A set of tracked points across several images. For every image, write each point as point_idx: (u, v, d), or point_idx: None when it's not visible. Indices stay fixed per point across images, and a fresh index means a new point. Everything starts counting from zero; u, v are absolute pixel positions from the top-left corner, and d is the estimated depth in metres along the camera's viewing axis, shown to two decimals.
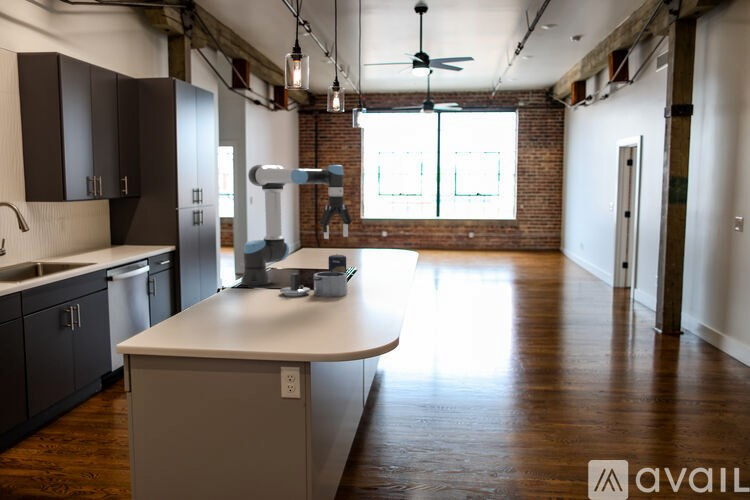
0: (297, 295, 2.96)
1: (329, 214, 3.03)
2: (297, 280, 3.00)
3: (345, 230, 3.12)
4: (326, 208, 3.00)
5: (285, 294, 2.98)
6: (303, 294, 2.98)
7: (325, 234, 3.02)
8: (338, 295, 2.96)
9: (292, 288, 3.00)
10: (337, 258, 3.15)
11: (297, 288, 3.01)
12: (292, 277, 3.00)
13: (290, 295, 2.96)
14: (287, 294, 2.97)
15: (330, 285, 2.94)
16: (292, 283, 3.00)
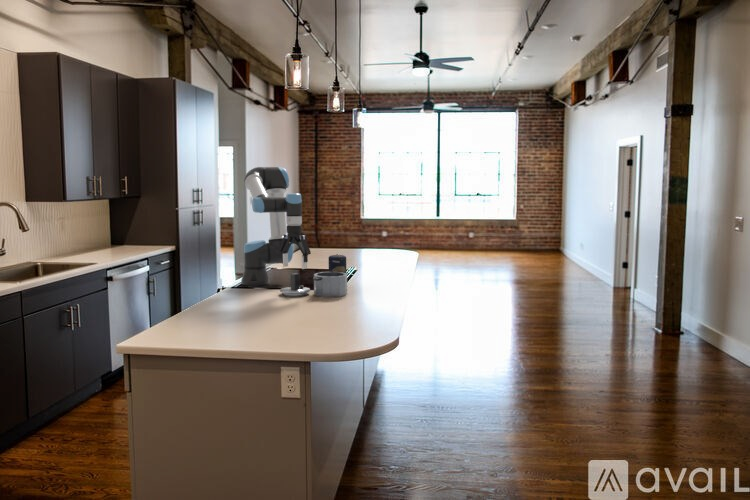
0: (297, 295, 2.96)
1: None
2: (297, 280, 3.00)
3: None
4: None
5: (285, 294, 2.98)
6: (303, 294, 2.98)
7: None
8: (338, 295, 2.96)
9: (292, 288, 3.00)
10: (337, 258, 3.15)
11: (297, 288, 3.01)
12: (292, 277, 3.00)
13: (290, 295, 2.96)
14: (287, 294, 2.97)
15: (330, 285, 2.94)
16: (292, 283, 3.00)
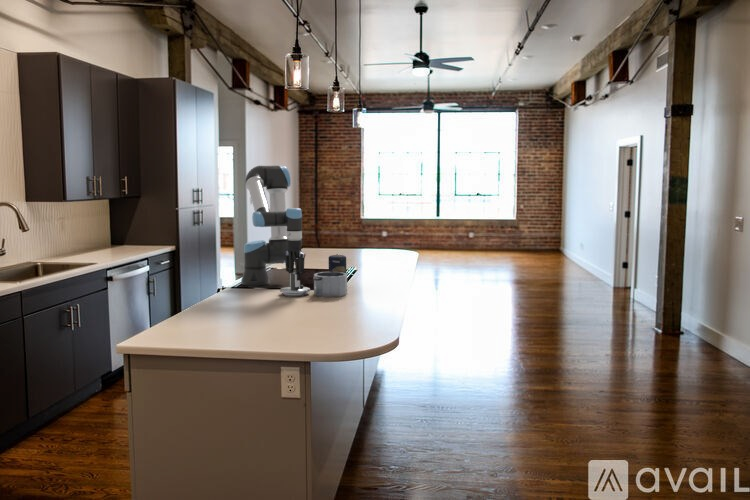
0: (297, 295, 2.96)
1: None
2: None
3: None
4: None
5: (285, 294, 2.98)
6: (303, 294, 2.98)
7: None
8: (338, 295, 2.96)
9: (292, 288, 3.00)
10: (337, 258, 3.15)
11: (297, 288, 3.01)
12: (292, 277, 3.00)
13: (290, 295, 2.96)
14: (287, 294, 2.97)
15: (330, 285, 2.94)
16: (292, 283, 3.00)
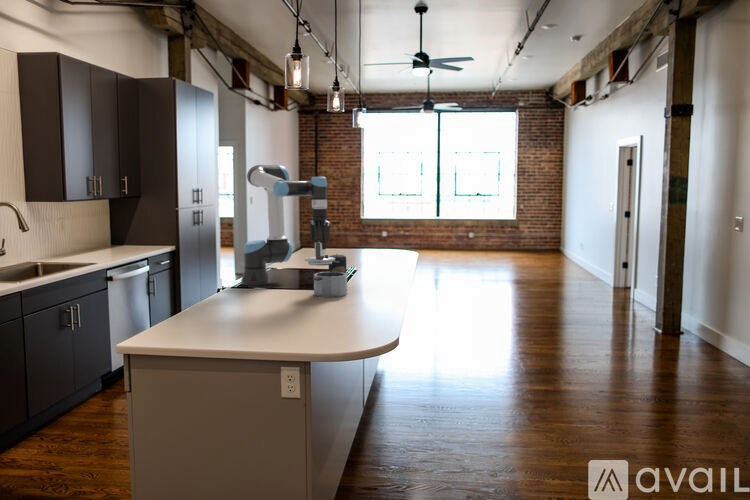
0: (322, 263, 2.94)
1: None
2: None
3: None
4: None
5: (310, 263, 2.96)
6: (328, 263, 2.96)
7: None
8: (338, 295, 2.96)
9: (317, 257, 2.99)
10: (337, 258, 3.15)
11: (322, 257, 2.99)
12: (317, 246, 2.98)
13: (315, 263, 2.94)
14: (312, 263, 2.95)
15: (330, 285, 2.94)
16: (317, 252, 2.98)
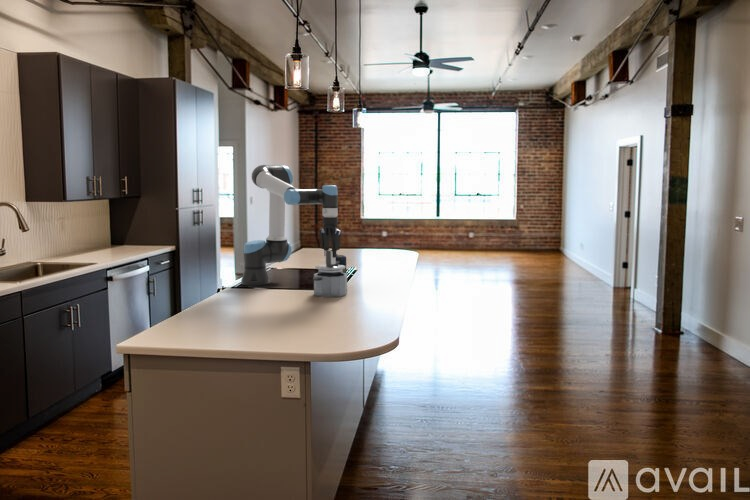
0: (333, 272, 2.96)
1: None
2: None
3: None
4: None
5: (321, 271, 2.97)
6: (339, 271, 2.98)
7: None
8: (338, 295, 2.96)
9: (328, 265, 3.00)
10: (337, 258, 3.15)
11: (332, 265, 3.00)
12: (328, 254, 2.99)
13: (326, 272, 2.96)
14: (323, 271, 2.96)
15: (330, 285, 2.94)
16: (328, 260, 3.00)
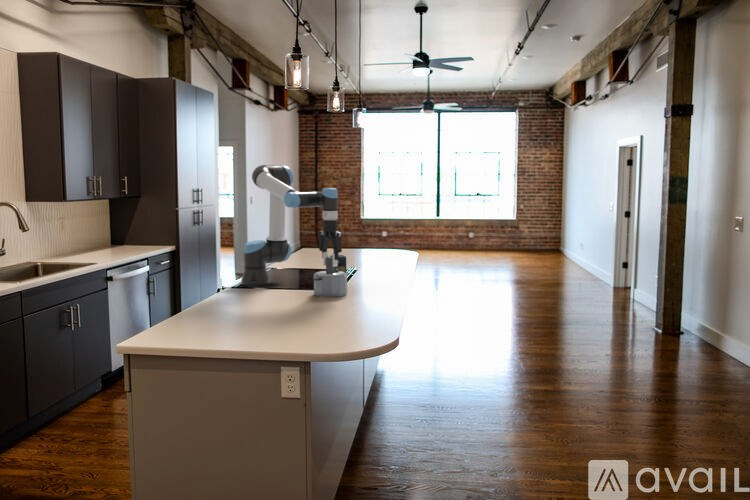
0: None
1: None
2: (332, 263, 3.00)
3: None
4: None
5: None
6: None
7: None
8: (338, 295, 2.96)
9: (327, 271, 3.00)
10: None
11: (332, 272, 3.01)
12: (327, 260, 3.00)
13: None
14: None
15: (330, 285, 2.94)
16: (327, 266, 3.00)
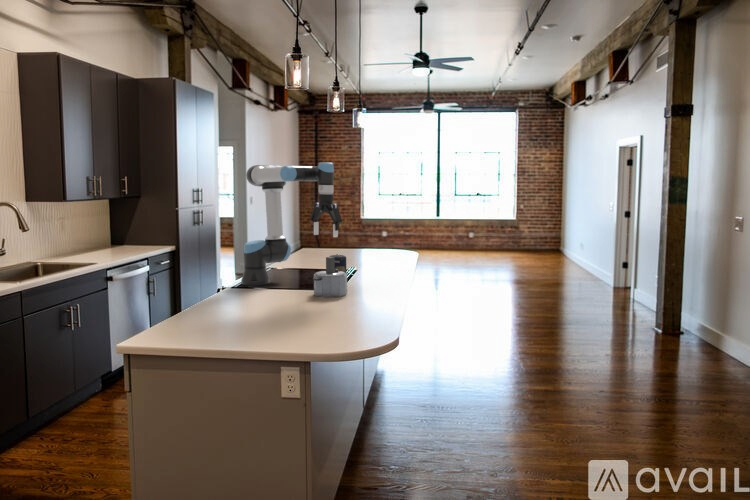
0: None
1: None
2: (332, 263, 3.00)
3: None
4: None
5: None
6: None
7: None
8: (338, 295, 2.96)
9: (327, 271, 3.00)
10: (337, 258, 3.15)
11: (332, 272, 3.01)
12: (327, 260, 3.00)
13: None
14: None
15: (330, 285, 2.94)
16: (327, 266, 3.00)
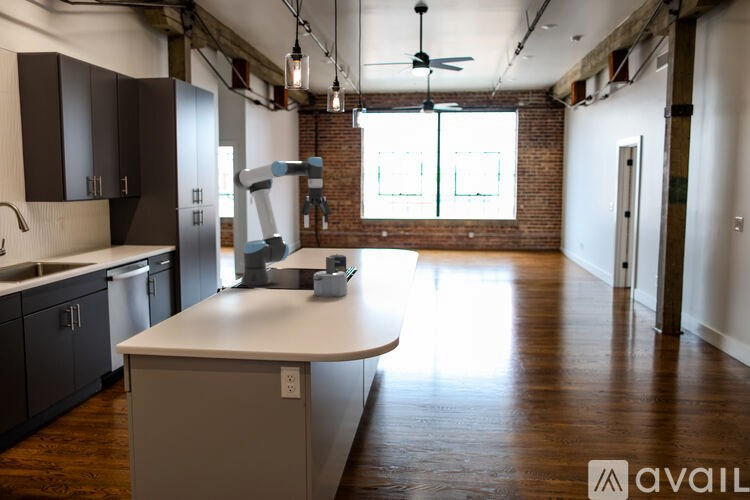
0: None
1: None
2: (332, 263, 3.00)
3: None
4: None
5: None
6: None
7: None
8: (338, 295, 2.96)
9: (327, 271, 3.00)
10: (337, 258, 3.15)
11: (332, 272, 3.01)
12: (327, 260, 3.00)
13: None
14: None
15: (330, 285, 2.94)
16: (327, 266, 3.00)
